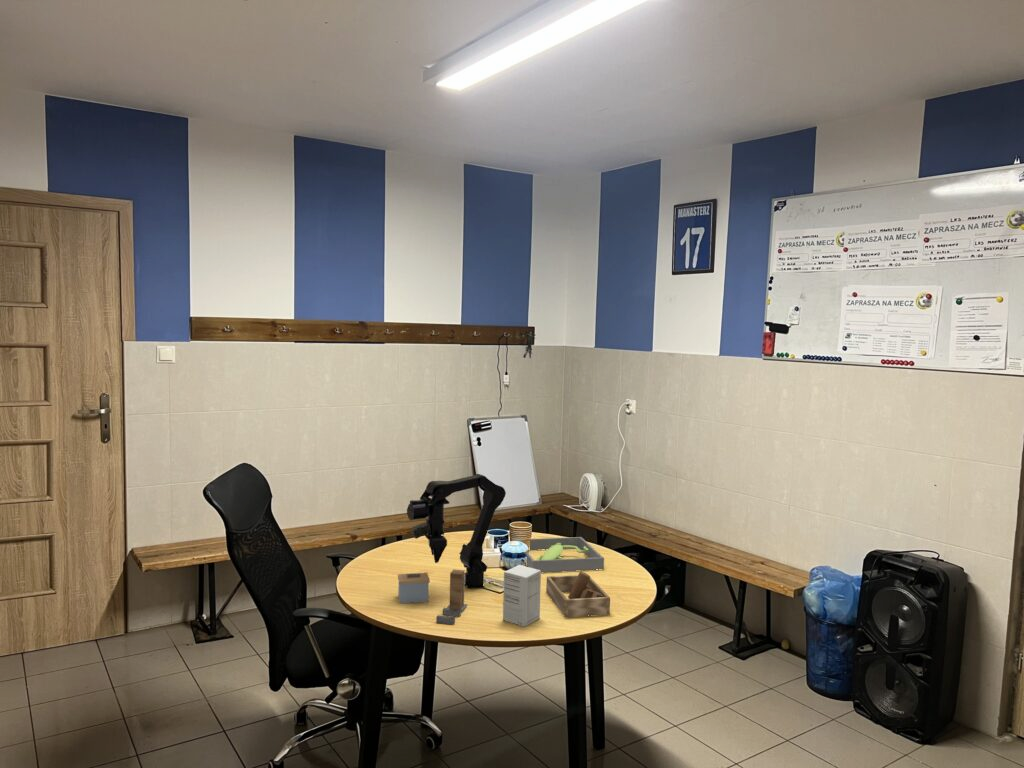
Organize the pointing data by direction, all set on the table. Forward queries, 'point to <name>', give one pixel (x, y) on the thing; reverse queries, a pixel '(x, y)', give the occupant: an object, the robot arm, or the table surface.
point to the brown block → (457, 589)
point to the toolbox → (413, 587)
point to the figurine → (558, 551)
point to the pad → (462, 607)
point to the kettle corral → (561, 565)
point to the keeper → (446, 618)
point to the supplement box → (521, 595)
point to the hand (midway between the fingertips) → (434, 558)
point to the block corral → (576, 605)
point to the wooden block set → (582, 588)
